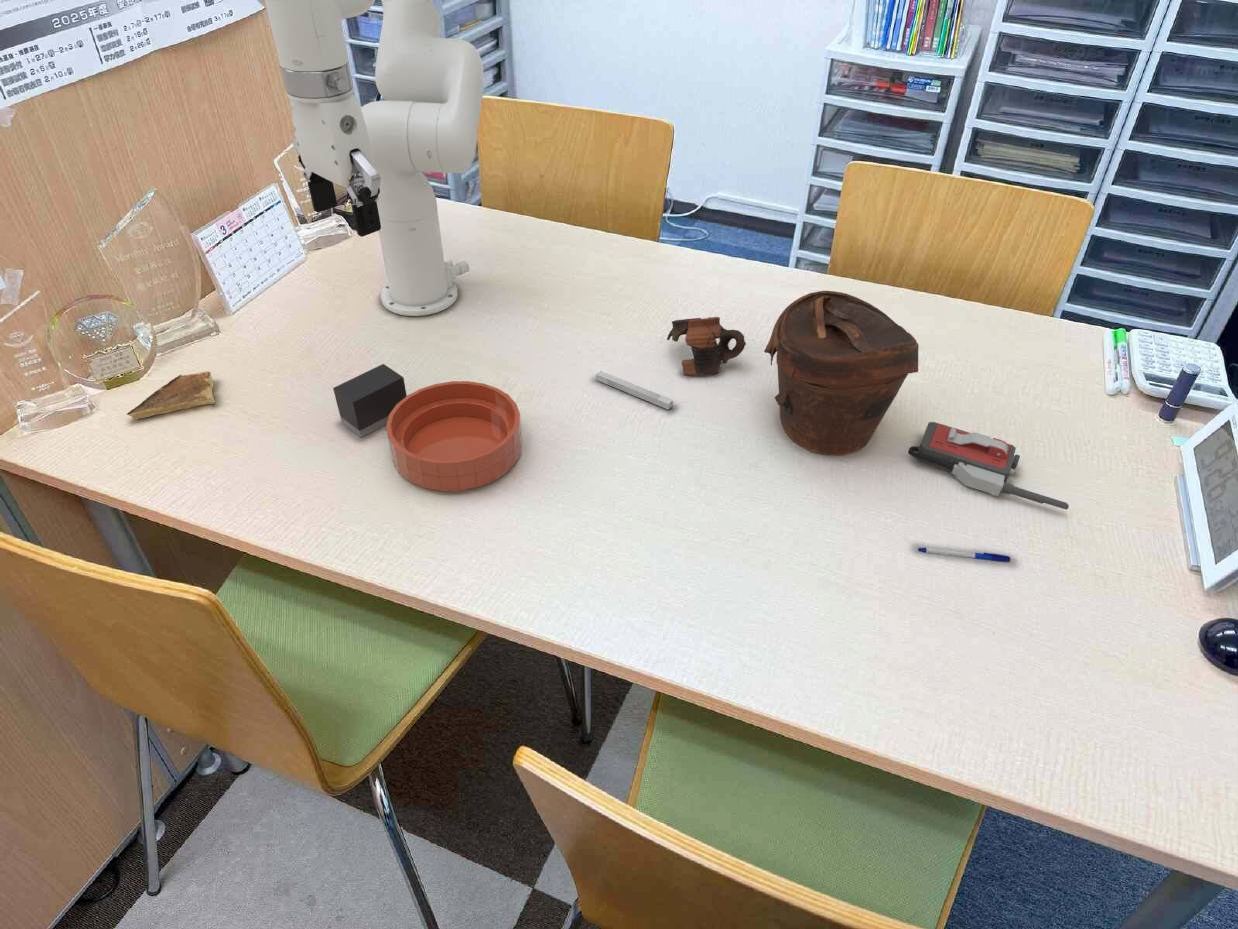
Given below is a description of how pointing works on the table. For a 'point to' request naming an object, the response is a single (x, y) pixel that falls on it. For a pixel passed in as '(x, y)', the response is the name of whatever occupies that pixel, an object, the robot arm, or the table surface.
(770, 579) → the table surface
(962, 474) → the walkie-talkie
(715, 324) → the pottery mug
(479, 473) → the bowl
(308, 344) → the table surface
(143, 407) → the shard
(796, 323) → the case
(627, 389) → the grey bar
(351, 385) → the eraser
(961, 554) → the ballpoint pen
